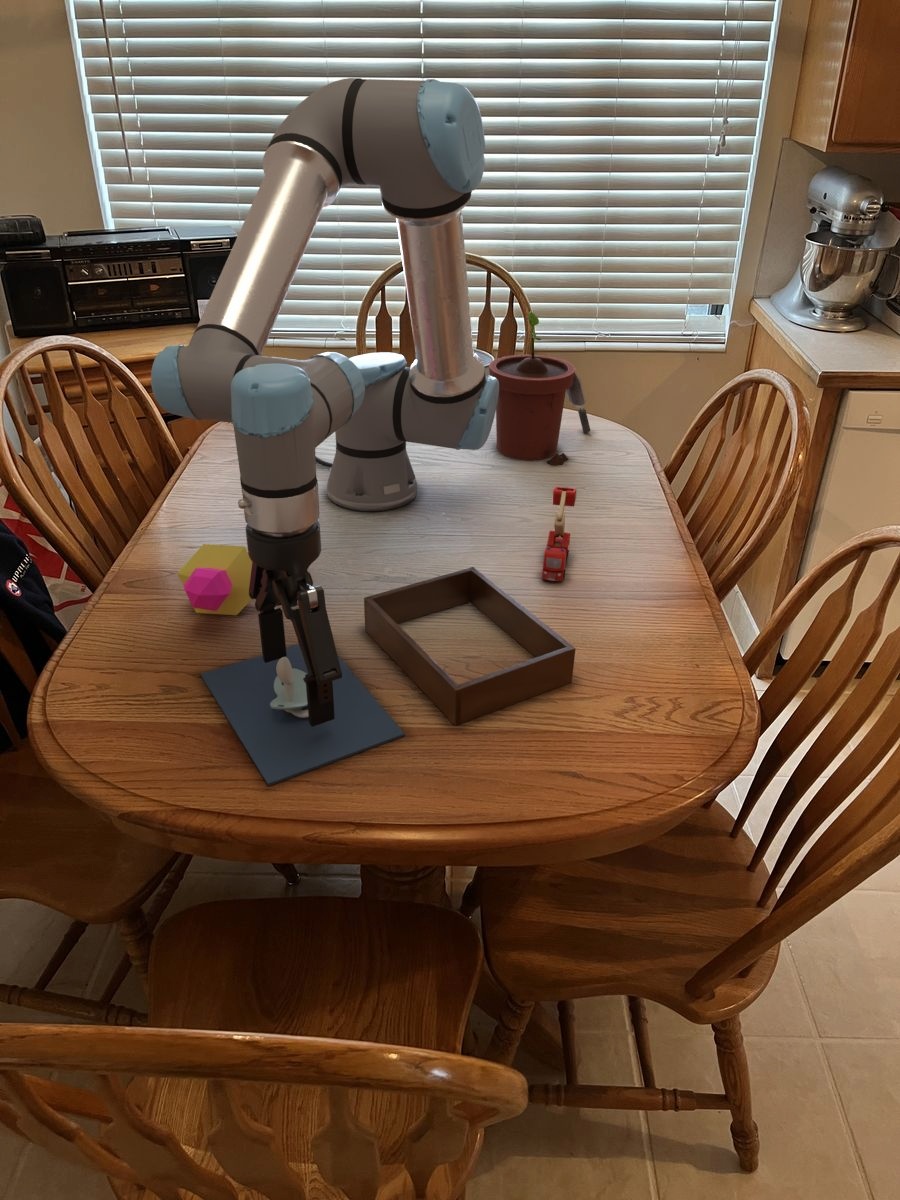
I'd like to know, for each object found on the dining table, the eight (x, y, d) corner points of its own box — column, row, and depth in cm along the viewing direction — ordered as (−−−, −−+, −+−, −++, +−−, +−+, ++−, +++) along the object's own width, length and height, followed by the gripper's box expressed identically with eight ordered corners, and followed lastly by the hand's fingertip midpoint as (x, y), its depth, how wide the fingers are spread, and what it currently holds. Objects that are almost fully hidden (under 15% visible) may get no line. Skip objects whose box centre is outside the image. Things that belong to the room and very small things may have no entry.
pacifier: (327, 684, 107) (276, 684, 106) (326, 641, 103) (273, 640, 103) (323, 724, 100) (268, 723, 100) (321, 679, 97) (265, 678, 97)
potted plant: (482, 430, 180) (487, 303, 167) (589, 431, 181) (602, 304, 168) (488, 465, 165) (494, 327, 152) (605, 465, 166) (621, 328, 153)
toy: (288, 585, 128) (258, 518, 126) (252, 619, 111) (216, 542, 109) (225, 609, 130) (195, 543, 128) (180, 646, 113) (144, 571, 111)
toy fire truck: (540, 582, 129) (545, 521, 124) (550, 539, 140) (555, 482, 135) (563, 585, 128) (569, 524, 123) (571, 541, 140) (577, 484, 135)
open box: (364, 630, 117) (363, 597, 115) (471, 597, 125) (473, 566, 122) (454, 726, 101) (456, 690, 98) (572, 682, 108) (575, 648, 106)
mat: (200, 676, 108) (200, 673, 108) (322, 639, 115) (322, 637, 115) (268, 786, 92) (267, 783, 92) (404, 736, 99) (404, 733, 99)
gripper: (207, 484, 99) (228, 643, 110) (296, 584, 81) (311, 763, 92) (271, 471, 102) (286, 627, 113) (370, 564, 84) (376, 739, 95)
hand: (297, 688), depth 103 cm, fingers open, 13 cm apart
